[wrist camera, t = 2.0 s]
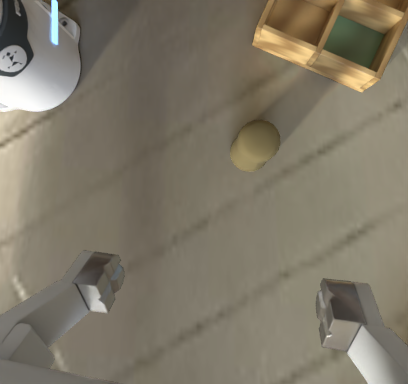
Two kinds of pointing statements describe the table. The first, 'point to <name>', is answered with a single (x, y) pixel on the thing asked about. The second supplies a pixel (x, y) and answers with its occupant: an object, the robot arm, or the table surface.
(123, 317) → the table surface
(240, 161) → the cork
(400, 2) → the wooden compartment tray
